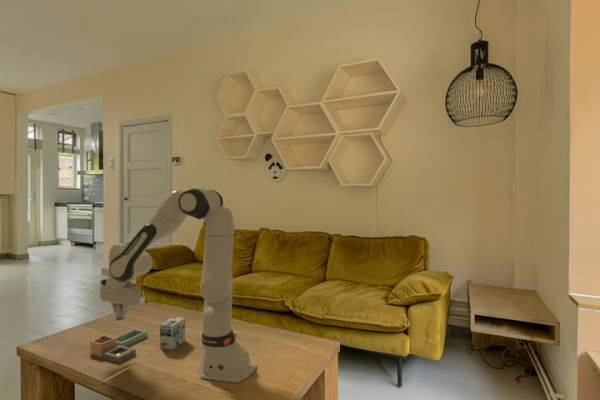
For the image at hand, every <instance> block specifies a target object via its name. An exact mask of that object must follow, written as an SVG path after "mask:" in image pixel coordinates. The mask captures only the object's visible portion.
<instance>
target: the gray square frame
mask: <svg viewBox="0 0 600 400" xmlns="http://www.w3.org/2000/svg"><path fill="white" fill-rule="evenodd" d="M117 352H123V353H121V354H119V355H115V354H114V353H117ZM136 352H137V351H136V348H132V347H129V346H127V347H125V346H121V345H118V346H116V347H113V348H111V349H109V350H107V351H105V352H103V353H102V357H101V359H103V360H106V361H110V362H114V363H116V364H120V363H121V362H124V361H126V360H128V359H130V358H132V357H133V356H136V354H137V353H136Z"/></svg>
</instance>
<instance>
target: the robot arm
mask: <svg viewBox="0 0 600 400" xmlns="http://www.w3.org/2000/svg"><path fill="white" fill-rule="evenodd" d="M223 205H224V198H223V197H222V195H221V193H219V192H218V191H216V190H214V189H207V188H204V187H203V188H199V187H198V188H194V187H193V188H188V189H186V190H181V189H176V190H172V192H171V193H169V195H168V196H166V198H165V199H164V200H163V201H162V202H161V204H160V206H159V207H158V209H157V210H156V211H155V213H154V214H153V215H152V217H151V218H150V219H149V220H148V221H147V222H146V224H144V226H143V227H141V228H140V230H139V231H138V232H137V233H136V235H134V237H133V238H132V239H131V241H130V242H125V243H120V244H114V245H113V246H111V247H110V250H109V254H108V271H109V273H108V277H106V278H103V279H100V281H99V284H100V290H99V296H100V299H101V301H102V302H106V303H107V302H108V303H110V305H111V307H112V309H113V310H112V311H113V312H112V313H113V314H116V305H117V304H122V305H123V307H124V309H123V310H121V312H122V313H121V314H123V315H127V314H128V310H129V308H130V307H136V306H139V305H140V304H141V302H142V301H141V298H142V297H141V296H142V295H141V291H140V287H139V286H138V285H137V283H133V278H135V277H138V276H139V277H140V276H141V275H145V274H147V273H148V272H150V271H152V268H153V266H154V259H153V257H152V255H151V254H150V252H148V251H146V250H147V249H148V248H149V247H150V246H151V245H152V244H154V243H155V242H157V241H159V240H161V239H163V238H166V237H169V236H171V235H172V234H174V233H175V232H176V231H178V229H179V228H180V227H181V226H182V224H183V223H184V221H185V220H186V218H187V217H188V216H189V217H192V218H194V219H197V220H201V219H203V221H204V224H205V230H204V231H205V233H204V252H203V253H204V254H203V262H202V268H201V276H200V277H201V278H200V279H201V280H200V287H199V289H200V296H201V297H202V299H203V300H204V303H203V311H202V312H203V313H202V333H201V342H202V343H201V344H202V349H201V358H200V362H199V366H198V371H199V373H200V376H199V377H200V379H204V380H212V381H219V382H226V383H236V384H238V383H240V382H242V381H244V380H246V379H247V378H249V377H250V376H251V375H252V374H253V373H254V372H255V371H256V367H257V365H256V363H255V362H253V361H251V359H250V354H249V351H248V350H247V349H245V347H244V346H242V345H241V343H239V342H238V341H237V340H236V337H238V333H237V332H236V333H234V330H233V328H232V327H233V325H232V324H233V322H232V320H233V319H232V315H233V313H232V312H233V311H232V310H233V290H234V289H233V288H234V287H233V285H234V282H233V281H234V276H233V273H232V266H233V265H232V264H233V257H234V238H235V237H234V236H235V230H234V227H235V226H234V225H235V224H234V216H233V212H232V210H231V209H230V208H228V207H226V206H223Z"/></svg>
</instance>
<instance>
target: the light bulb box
mask: <svg viewBox="0 0 600 400" xmlns="http://www.w3.org/2000/svg"><path fill="white" fill-rule="evenodd" d="M184 342H186V317H179V316H172V317H170V318H169V319H167V320H166V321H164V322H163V323H161V324H159V347H160V349H161V350H170V351H173V350H175V349H176V348H177V347H179V346H180V345H181V344H183V343H184Z"/></svg>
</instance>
